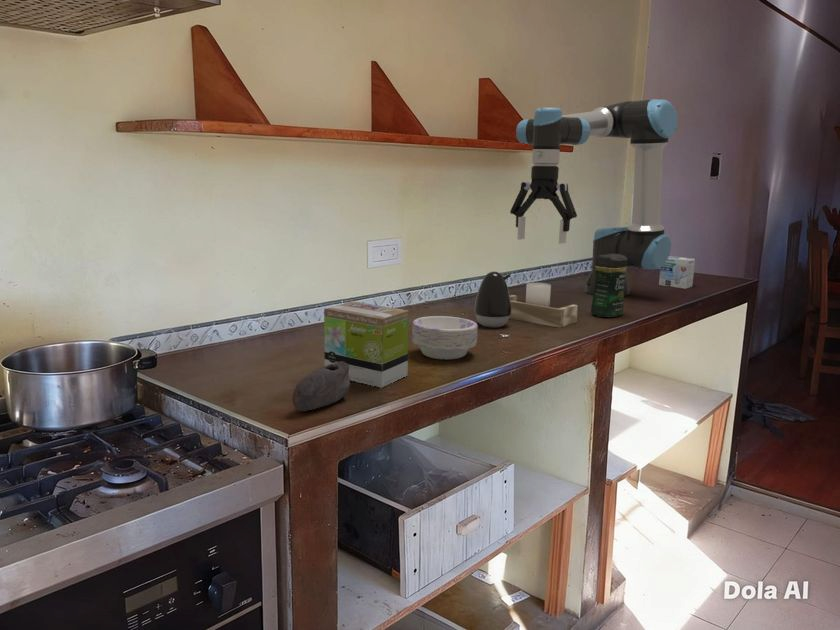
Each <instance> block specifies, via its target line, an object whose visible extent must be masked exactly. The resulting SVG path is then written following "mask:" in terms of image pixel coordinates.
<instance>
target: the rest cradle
mask: <svg viewBox="0 0 840 630" xmlns="http://www.w3.org/2000/svg"><path fill="white" fill-rule="evenodd" d="M510 300H511V315H510V317H509V319H510V320H517V321H522V322H526V323H527V322H528V323H534V324H537V325H544V326H549V327H554V328H559V329H560V328H564V327H566V326H570V325H572V324H575V323H577V319H578V304H570V305H566V306H563V307H552V306H550V307H547V306H541V305H535V304H529V303H526V302H521V301H518V295H514V294H511V295H510Z"/></svg>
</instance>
